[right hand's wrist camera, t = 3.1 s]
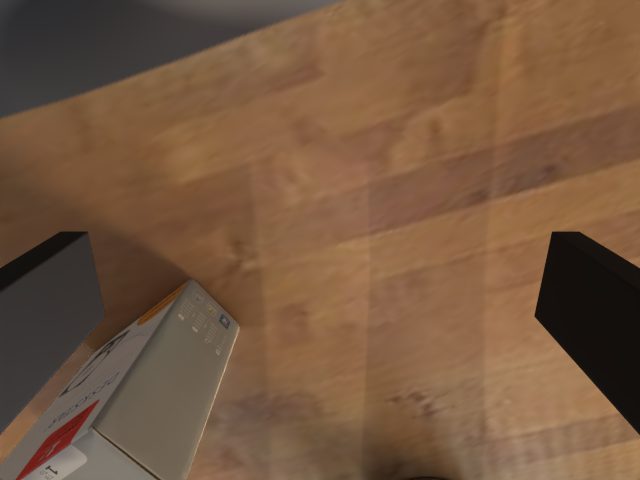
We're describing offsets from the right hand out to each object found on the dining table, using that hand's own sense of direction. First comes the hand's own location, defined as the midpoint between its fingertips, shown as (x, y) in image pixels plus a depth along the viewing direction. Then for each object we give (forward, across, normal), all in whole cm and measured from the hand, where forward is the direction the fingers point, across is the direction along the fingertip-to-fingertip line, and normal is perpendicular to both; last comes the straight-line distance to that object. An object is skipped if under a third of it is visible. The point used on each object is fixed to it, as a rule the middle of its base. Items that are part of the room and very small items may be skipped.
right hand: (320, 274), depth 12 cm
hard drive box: (+28, +17, +21) cm, 39 cm away
